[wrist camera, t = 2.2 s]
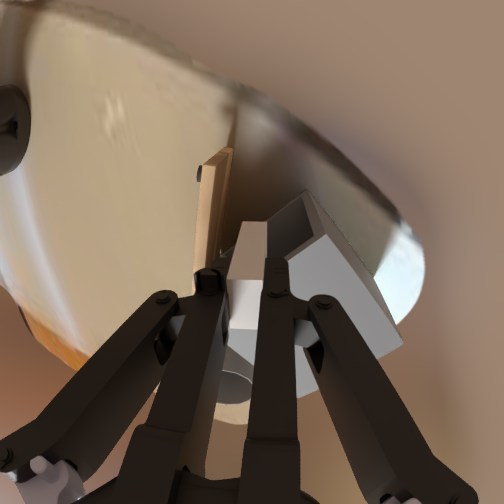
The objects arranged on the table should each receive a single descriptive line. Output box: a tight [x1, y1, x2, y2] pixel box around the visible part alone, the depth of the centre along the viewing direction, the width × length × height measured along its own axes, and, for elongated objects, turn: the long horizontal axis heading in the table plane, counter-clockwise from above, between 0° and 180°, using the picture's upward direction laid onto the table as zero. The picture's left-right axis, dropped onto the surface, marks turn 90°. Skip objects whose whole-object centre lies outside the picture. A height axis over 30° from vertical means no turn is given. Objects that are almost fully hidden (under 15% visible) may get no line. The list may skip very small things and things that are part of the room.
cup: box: [216, 345, 254, 405], centre depth 40 cm, size 8×8×10 cm
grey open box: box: [220, 189, 404, 398], centre depth 32 cm, size 16×14×13 cm
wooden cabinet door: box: [192, 147, 234, 295], centre depth 29 cm, size 2×14×11 cm, turn 171°
